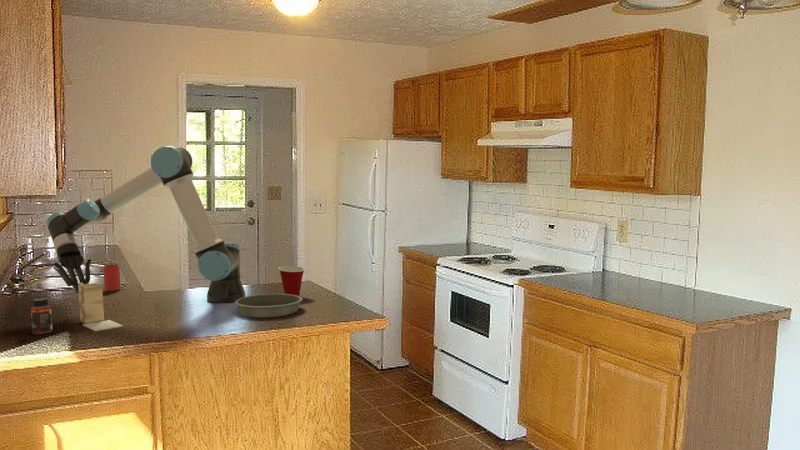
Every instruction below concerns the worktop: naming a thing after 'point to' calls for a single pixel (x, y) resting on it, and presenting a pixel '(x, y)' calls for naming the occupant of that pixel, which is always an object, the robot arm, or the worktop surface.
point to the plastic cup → (291, 279)
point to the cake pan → (257, 308)
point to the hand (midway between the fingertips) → (85, 299)
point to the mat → (102, 325)
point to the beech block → (91, 303)
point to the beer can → (111, 277)
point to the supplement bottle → (41, 317)
